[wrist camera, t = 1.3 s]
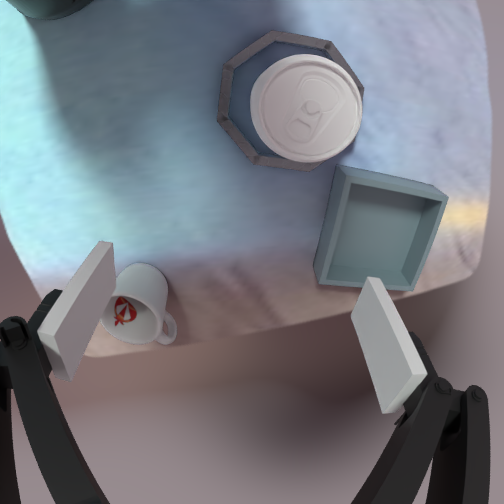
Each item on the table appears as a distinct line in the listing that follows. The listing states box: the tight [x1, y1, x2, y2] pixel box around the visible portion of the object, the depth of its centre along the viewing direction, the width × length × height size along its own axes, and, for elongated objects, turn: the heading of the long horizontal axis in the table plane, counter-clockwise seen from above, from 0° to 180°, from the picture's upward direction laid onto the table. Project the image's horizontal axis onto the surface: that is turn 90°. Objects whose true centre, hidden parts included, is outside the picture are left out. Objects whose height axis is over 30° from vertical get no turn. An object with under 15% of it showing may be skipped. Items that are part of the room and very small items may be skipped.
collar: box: [217, 31, 364, 172], centre depth 29 cm, size 14×14×2 cm
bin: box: [313, 165, 449, 291], centre depth 35 cm, size 13×13×4 cm
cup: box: [100, 263, 177, 345], centre depth 38 cm, size 11×8×8 cm
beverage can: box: [250, 54, 362, 162], centre depth 25 cm, size 8×8×12 cm
